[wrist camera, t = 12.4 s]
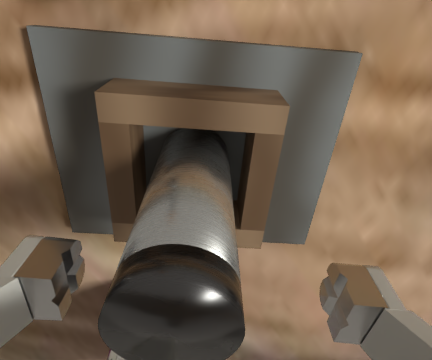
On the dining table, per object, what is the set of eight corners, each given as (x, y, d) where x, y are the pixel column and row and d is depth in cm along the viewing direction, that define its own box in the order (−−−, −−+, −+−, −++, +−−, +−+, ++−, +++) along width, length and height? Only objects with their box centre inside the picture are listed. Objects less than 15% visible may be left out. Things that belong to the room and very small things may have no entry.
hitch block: (356, 51, 17) (393, 63, 13) (301, 237, 24) (316, 276, 20) (34, 25, 16) (-16, 29, 12) (76, 225, 23) (52, 263, 20)
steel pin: (231, 127, 18) (254, 287, 8) (225, 187, 20) (236, 373, 10) (160, 122, 18) (87, 279, 8) (161, 183, 20) (107, 368, 10)
